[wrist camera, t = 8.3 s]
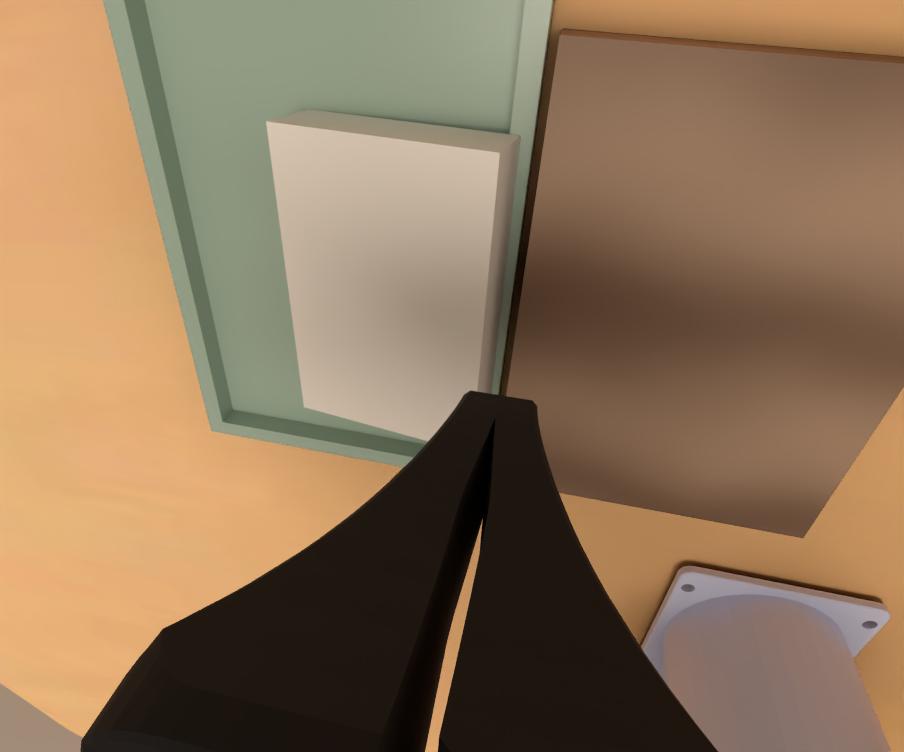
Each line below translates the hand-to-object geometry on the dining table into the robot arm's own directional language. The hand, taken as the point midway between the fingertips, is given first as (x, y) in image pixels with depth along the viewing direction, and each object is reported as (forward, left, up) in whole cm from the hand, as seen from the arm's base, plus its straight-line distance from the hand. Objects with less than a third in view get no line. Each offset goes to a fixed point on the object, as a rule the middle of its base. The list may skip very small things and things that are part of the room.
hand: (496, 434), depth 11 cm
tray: (0, +6, -8) cm, 10 cm away
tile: (0, +4, -7) cm, 8 cm away
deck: (0, -5, -8) cm, 9 cm away
